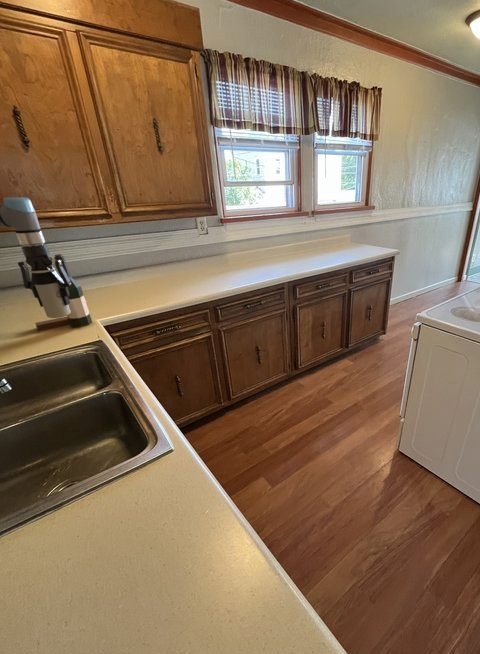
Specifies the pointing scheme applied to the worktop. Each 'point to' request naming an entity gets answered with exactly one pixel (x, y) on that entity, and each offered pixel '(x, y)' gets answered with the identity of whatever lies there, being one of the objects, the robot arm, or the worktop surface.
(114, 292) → the worktop surface
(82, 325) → the wine bottle
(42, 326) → the granola bar
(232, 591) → the worktop surface
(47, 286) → the travel mug
